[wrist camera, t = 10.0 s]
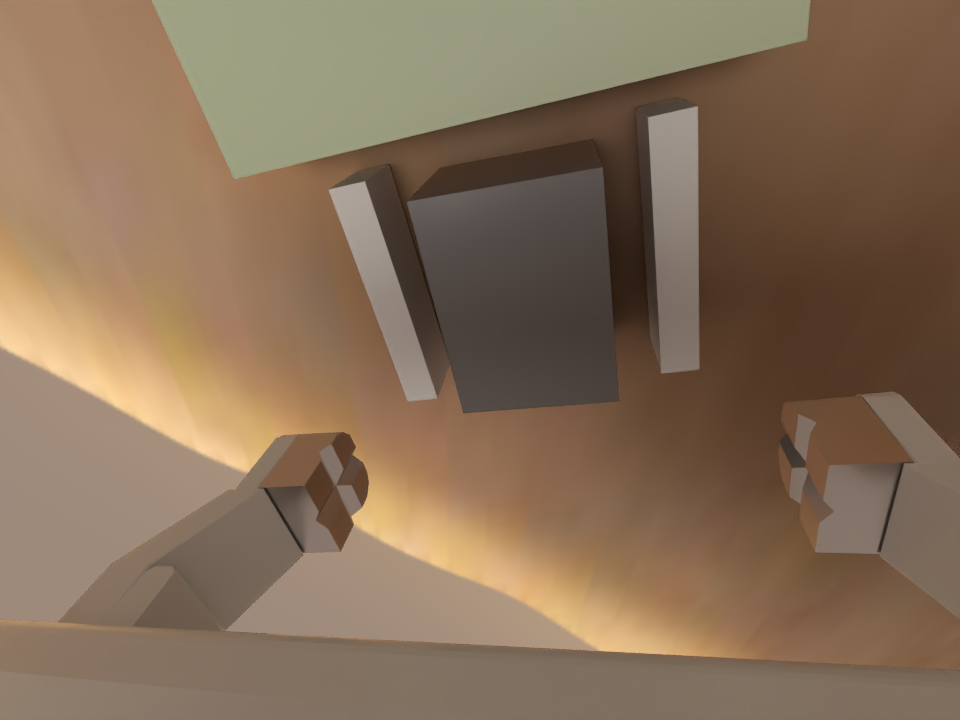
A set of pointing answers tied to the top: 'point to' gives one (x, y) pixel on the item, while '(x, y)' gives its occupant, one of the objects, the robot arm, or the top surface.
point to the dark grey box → (522, 277)
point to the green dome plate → (463, 116)
